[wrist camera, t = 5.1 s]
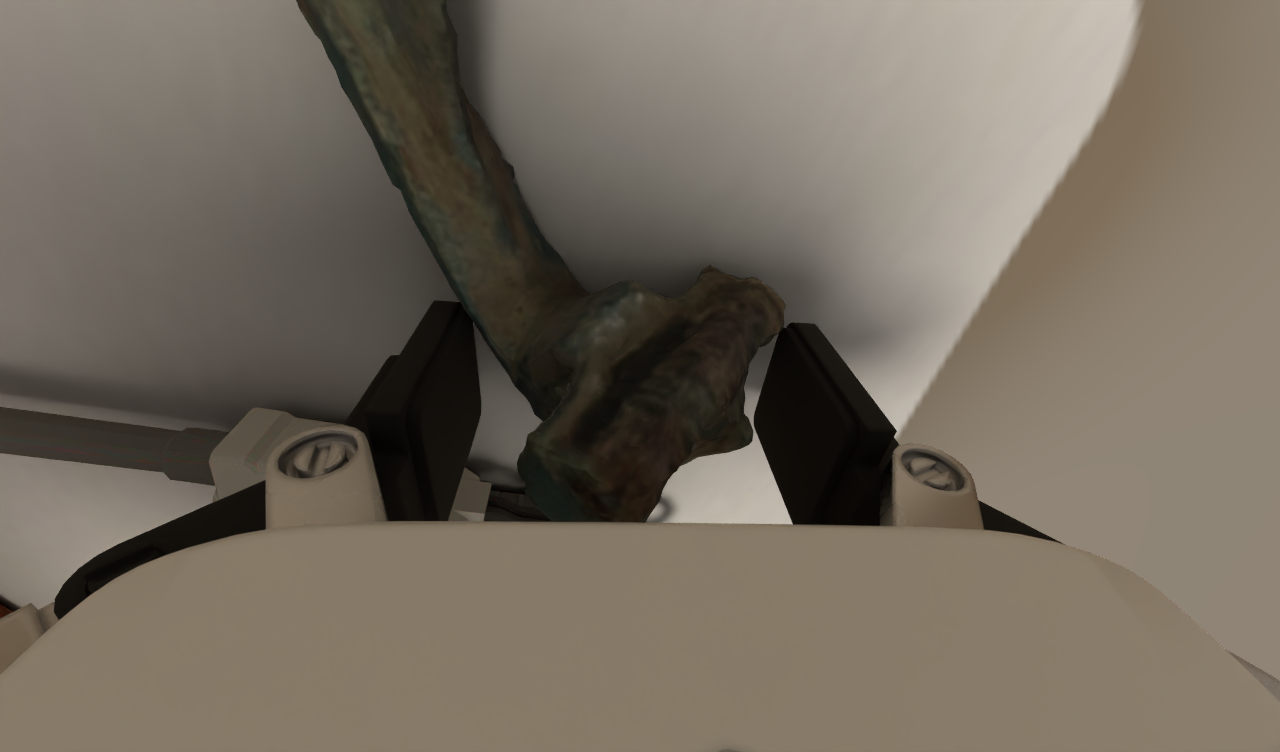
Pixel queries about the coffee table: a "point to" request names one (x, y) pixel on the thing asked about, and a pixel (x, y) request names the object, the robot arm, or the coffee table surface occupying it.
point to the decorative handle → (548, 285)
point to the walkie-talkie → (213, 455)
